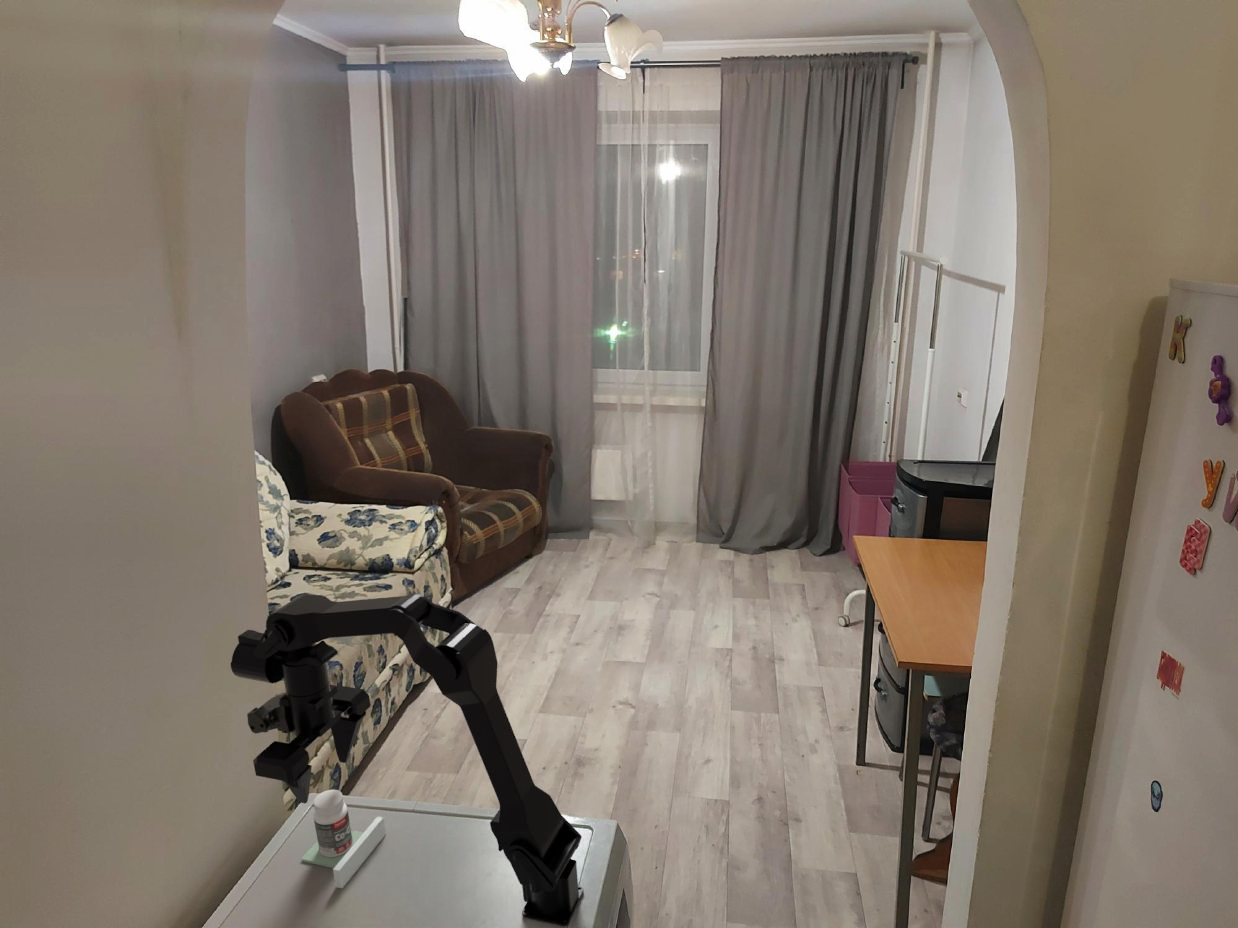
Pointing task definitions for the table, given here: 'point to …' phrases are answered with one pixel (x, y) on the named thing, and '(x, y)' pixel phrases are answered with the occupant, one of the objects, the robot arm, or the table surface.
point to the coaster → (319, 859)
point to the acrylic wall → (359, 852)
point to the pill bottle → (332, 823)
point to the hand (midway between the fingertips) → (324, 781)
